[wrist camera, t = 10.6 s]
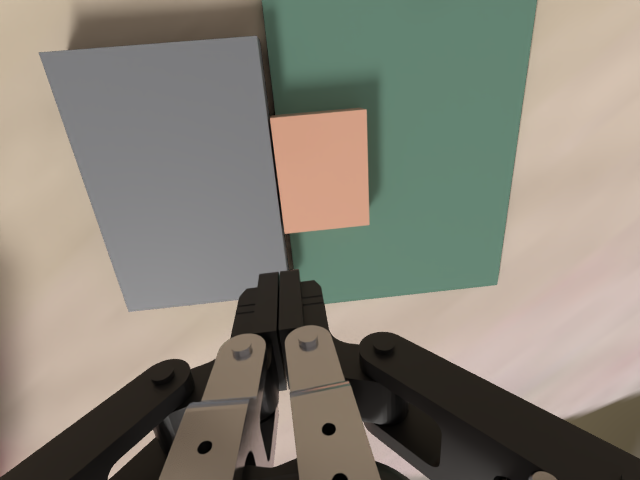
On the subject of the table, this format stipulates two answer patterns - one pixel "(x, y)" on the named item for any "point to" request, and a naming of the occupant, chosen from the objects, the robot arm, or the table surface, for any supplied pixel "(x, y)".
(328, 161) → the coral tile
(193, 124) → the gray riser
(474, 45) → the green mat
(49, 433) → the table surface
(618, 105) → the table surface
